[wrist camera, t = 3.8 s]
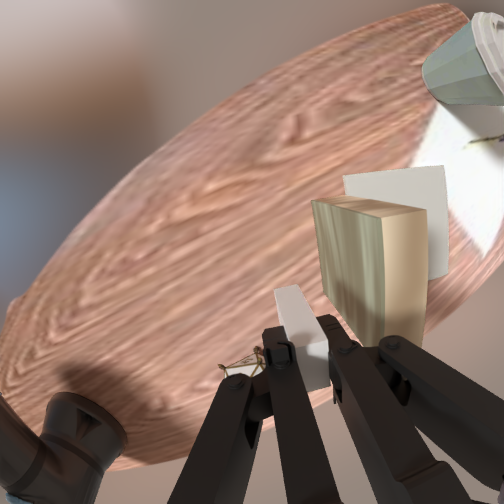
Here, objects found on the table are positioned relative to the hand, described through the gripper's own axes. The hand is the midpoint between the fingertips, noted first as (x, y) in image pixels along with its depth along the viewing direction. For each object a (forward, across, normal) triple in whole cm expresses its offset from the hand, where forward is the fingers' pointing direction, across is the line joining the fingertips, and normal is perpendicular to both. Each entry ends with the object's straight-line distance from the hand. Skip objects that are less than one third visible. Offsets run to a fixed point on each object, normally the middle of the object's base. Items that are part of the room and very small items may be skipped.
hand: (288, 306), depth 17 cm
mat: (+12, +16, 0) cm, 20 cm away
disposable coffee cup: (+12, +26, +18) cm, 34 cm away
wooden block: (+12, +7, 0) cm, 14 cm away
